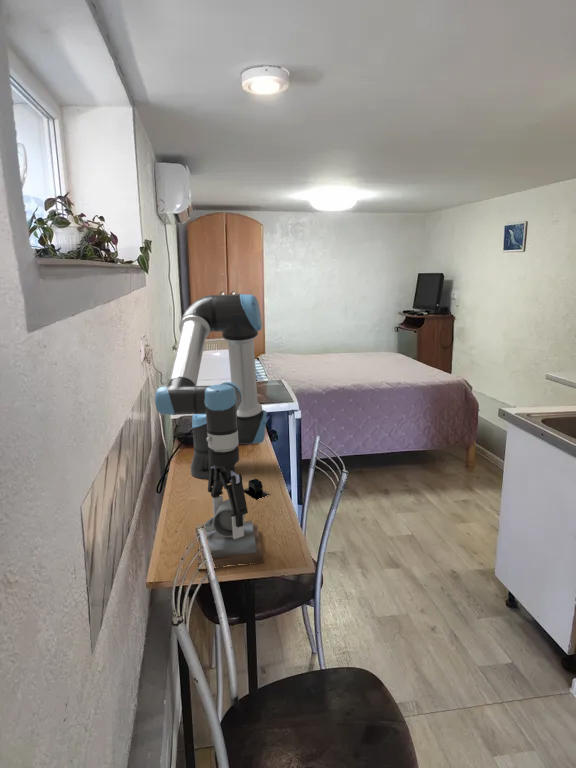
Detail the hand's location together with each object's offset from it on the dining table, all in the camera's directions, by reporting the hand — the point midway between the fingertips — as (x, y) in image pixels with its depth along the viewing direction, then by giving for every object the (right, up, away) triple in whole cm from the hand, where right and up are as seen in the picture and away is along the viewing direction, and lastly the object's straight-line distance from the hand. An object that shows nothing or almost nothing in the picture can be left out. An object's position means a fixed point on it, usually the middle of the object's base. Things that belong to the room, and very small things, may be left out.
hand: (228, 528), depth 128 cm
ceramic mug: (-1, -1, 0) cm, 1 cm away
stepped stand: (0, -6, +1) cm, 6 cm away
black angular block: (+5, +1, +34) cm, 35 cm away
